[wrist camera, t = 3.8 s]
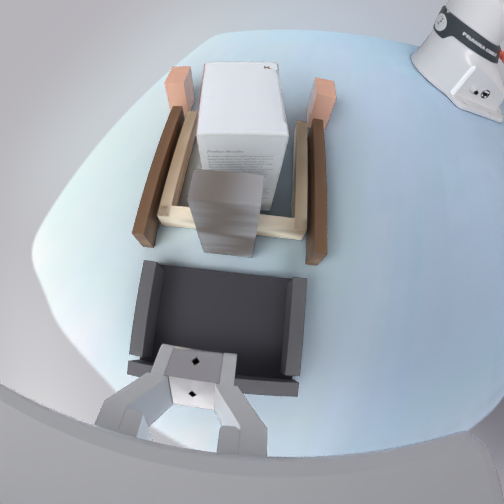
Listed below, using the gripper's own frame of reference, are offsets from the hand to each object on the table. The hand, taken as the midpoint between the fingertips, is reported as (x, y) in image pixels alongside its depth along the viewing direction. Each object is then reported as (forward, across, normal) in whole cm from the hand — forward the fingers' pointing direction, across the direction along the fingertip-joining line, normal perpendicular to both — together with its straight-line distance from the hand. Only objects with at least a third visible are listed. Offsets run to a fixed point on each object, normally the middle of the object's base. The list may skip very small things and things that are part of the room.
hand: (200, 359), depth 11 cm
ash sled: (+19, 0, -4) cm, 19 cm away
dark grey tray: (+9, 0, +6) cm, 11 cm away
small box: (+20, 0, -3) cm, 20 cm away
